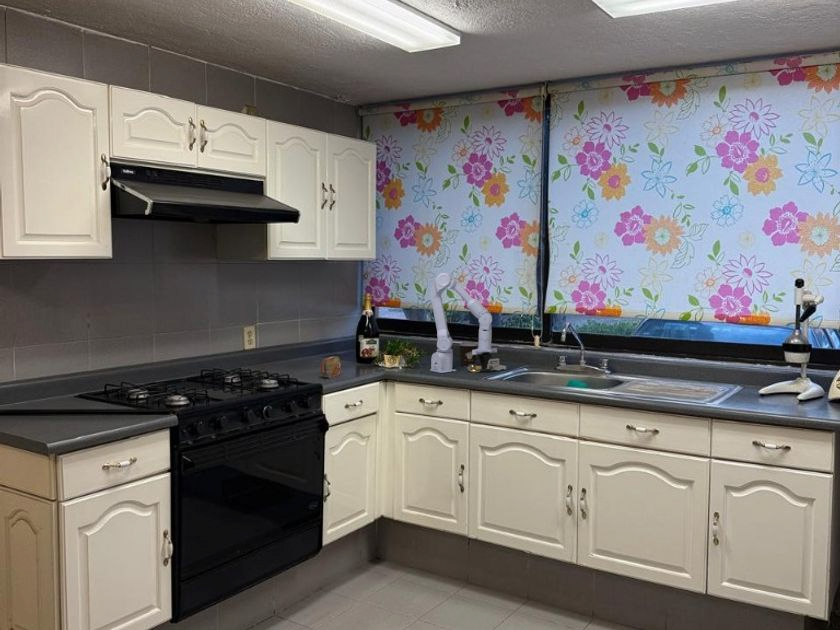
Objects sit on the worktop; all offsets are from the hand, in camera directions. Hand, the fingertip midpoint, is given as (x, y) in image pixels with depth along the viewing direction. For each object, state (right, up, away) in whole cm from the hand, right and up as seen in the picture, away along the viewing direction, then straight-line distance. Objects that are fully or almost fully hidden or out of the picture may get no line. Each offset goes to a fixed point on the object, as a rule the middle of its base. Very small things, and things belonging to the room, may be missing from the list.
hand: (484, 369), depth 337 cm
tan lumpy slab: (-66, -2, -18) cm, 68 cm away
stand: (+7, -1, +11) cm, 13 cm away
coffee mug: (-5, 0, +19) cm, 20 cm away
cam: (-2, -1, +2) cm, 3 cm away
